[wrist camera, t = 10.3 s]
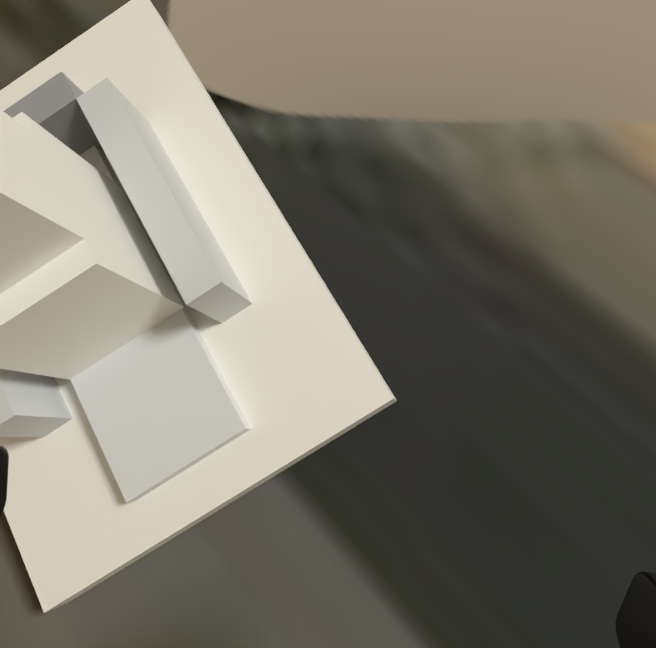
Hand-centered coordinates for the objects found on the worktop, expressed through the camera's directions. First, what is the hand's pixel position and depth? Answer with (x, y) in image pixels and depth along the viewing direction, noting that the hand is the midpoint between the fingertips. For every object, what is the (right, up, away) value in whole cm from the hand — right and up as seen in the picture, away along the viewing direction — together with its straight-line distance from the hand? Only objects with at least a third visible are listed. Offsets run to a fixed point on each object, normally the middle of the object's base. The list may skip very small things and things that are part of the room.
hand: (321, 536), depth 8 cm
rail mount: (-8, +5, +14) cm, 16 cm away
